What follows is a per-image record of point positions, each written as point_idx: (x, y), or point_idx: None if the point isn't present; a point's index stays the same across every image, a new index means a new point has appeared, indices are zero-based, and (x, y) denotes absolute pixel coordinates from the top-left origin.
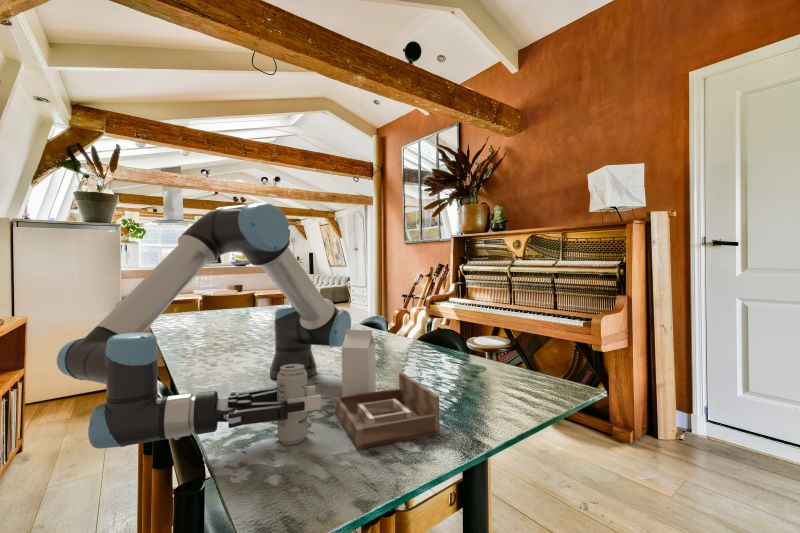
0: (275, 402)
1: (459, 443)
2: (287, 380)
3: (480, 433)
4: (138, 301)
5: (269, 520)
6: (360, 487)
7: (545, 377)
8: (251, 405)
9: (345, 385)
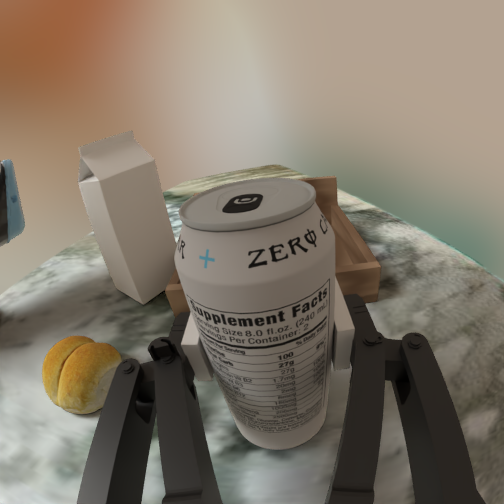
0: (363, 374)
1: (365, 220)
2: (334, 253)
3: (342, 207)
4: None
5: None
6: (481, 298)
7: (225, 173)
8: (372, 486)
9: (134, 264)
